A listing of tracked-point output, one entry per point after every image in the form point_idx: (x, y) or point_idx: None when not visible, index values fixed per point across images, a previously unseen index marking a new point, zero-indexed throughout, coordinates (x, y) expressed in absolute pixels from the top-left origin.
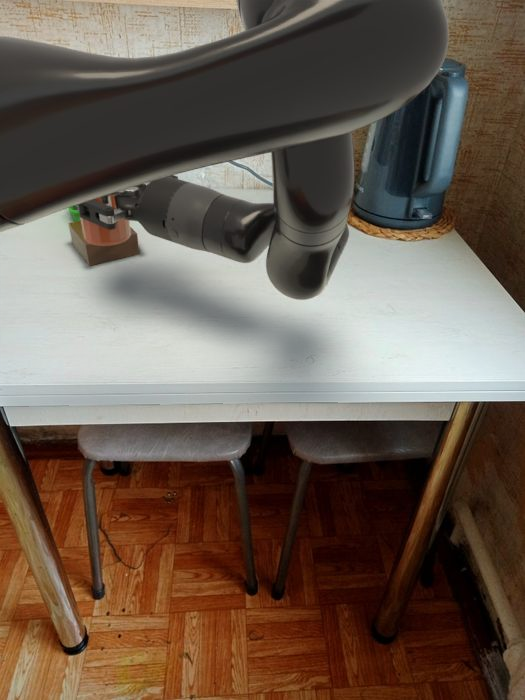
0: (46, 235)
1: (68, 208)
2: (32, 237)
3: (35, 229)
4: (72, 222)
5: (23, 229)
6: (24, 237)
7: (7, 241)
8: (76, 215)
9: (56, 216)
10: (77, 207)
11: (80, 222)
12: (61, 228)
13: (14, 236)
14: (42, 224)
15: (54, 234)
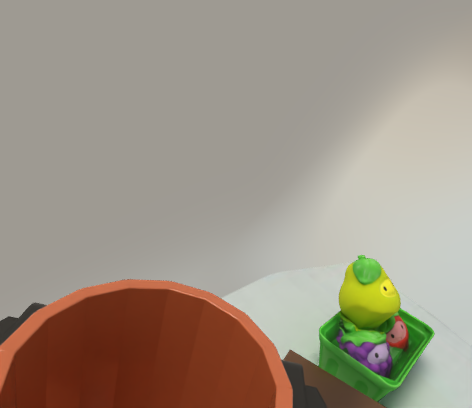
0: (272, 332)
1: (321, 326)
2: (254, 319)
3: (276, 312)
4: (297, 354)
5: (265, 300)
6: (248, 310)
7: (225, 298)
8: (324, 346)
9: (326, 317)
10: (341, 335)
11: (308, 366)
12: (305, 340)
13: (242, 299)
14: (294, 313)
15: (283, 340)
